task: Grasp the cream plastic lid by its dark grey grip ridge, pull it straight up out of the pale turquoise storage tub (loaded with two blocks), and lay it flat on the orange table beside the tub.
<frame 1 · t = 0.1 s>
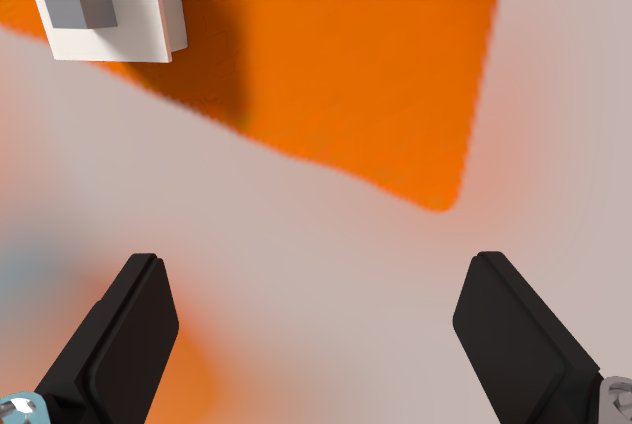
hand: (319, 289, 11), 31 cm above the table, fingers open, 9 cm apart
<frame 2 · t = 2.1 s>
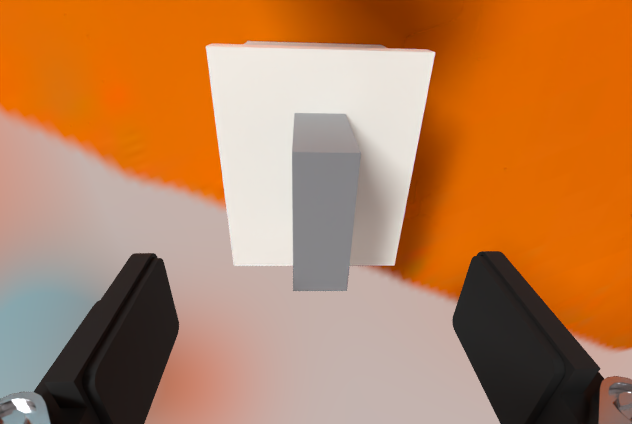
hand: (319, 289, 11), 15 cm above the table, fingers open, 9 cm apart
lid: (316, 161, 18), point 6 cm above the table, touching tub
tub: (313, 125, 23), on the table
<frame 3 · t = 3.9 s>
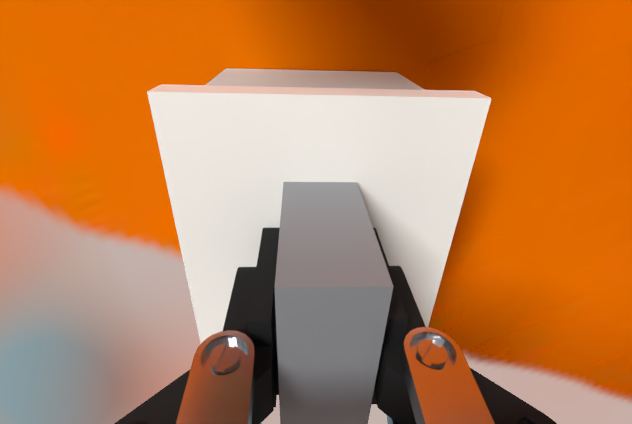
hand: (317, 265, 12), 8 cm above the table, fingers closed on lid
lid: (315, 232, 13), point 6 cm above the table, touching gripper
tub: (310, 168, 19), on the table
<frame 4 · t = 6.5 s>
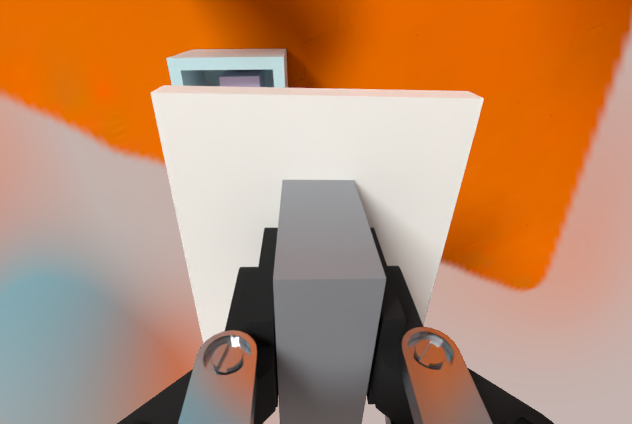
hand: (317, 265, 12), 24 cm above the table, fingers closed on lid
lid: (314, 229, 14), point 22 cm above the table, touching gripper
tub: (246, 107, 32), on the table
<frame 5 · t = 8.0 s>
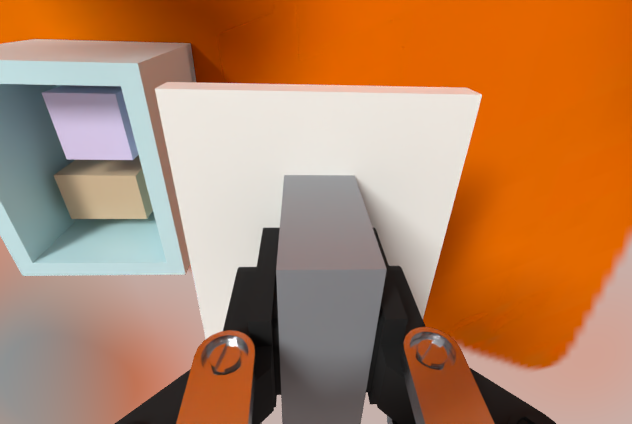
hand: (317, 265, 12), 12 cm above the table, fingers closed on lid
lid: (314, 225, 14), point 9 cm above the table, touching gripper
tub: (136, 133, 21), on the table
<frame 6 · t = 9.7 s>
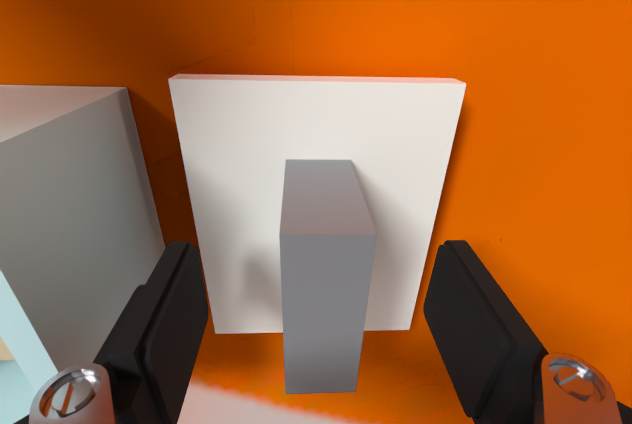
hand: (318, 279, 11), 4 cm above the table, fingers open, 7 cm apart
lid: (314, 209, 15), on the table
tub: (57, 213, 14), on the table
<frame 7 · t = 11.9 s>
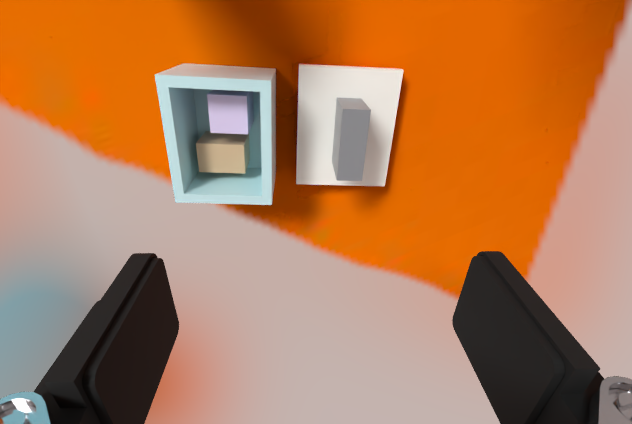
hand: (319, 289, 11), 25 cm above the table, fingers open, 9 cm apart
lid: (343, 126, 33), on the table
tub: (233, 122, 32), on the table
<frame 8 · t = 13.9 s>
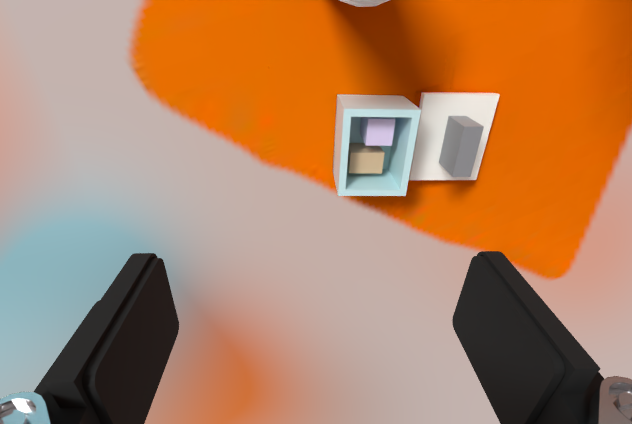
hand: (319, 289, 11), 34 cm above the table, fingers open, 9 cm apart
lid: (446, 135, 44), on the table
tub: (366, 135, 44), on the table
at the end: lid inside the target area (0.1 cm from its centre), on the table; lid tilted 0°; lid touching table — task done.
